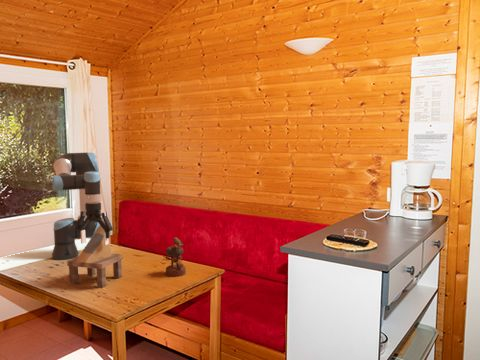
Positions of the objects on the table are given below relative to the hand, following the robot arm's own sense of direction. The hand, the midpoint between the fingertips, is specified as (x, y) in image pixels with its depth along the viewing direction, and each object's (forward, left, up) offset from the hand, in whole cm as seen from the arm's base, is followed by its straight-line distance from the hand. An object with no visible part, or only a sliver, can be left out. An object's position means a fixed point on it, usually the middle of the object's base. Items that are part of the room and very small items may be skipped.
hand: (94, 243), depth 212 cm
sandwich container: (0, -1, -7) cm, 7 cm away
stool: (0, 0, -19) cm, 19 cm away
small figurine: (+34, +21, -19) cm, 44 cm away
